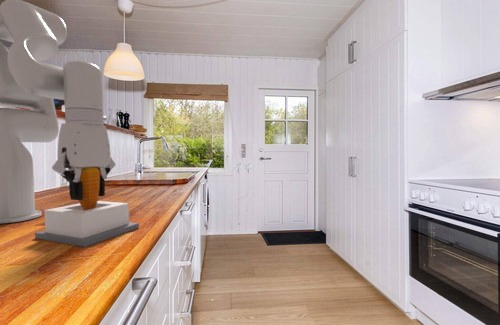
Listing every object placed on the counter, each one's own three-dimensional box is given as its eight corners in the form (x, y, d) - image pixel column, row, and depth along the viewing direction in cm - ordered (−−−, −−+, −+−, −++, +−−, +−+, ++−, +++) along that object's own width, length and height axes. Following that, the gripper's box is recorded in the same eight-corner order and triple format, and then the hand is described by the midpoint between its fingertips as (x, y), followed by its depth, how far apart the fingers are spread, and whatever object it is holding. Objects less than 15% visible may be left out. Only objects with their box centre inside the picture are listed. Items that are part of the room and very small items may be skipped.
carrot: (90, 218, 60) (87, 150, 59) (71, 217, 61) (68, 151, 60) (106, 213, 65) (103, 150, 64) (88, 212, 66) (85, 151, 65)
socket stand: (35, 238, 60) (33, 210, 60) (93, 222, 73) (92, 199, 73) (84, 247, 54) (83, 215, 53) (138, 228, 67) (138, 203, 66)
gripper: (105, 123, 71) (108, 191, 72) (33, 115, 56) (37, 203, 57) (126, 121, 69) (129, 192, 69) (56, 113, 53) (61, 205, 54)
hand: (88, 196), depth 63 cm, fingers closed on carrot, 4 cm apart
